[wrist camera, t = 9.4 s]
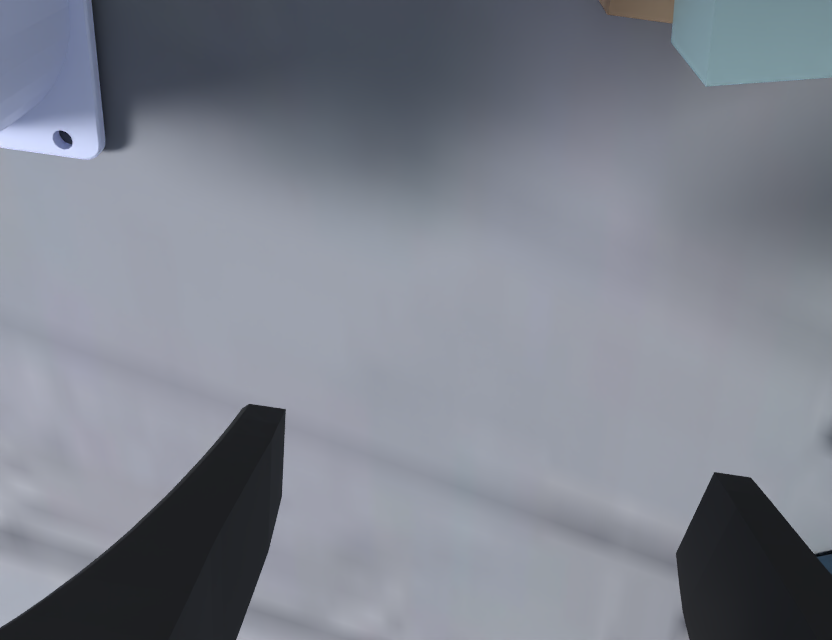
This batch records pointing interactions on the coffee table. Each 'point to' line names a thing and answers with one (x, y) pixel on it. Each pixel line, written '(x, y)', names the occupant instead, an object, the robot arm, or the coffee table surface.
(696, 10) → the tower top
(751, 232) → the coffee table surface
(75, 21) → the robot arm
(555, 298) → the coffee table surface
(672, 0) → the tower base
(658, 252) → the coffee table surface
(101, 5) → the coffee table surface
